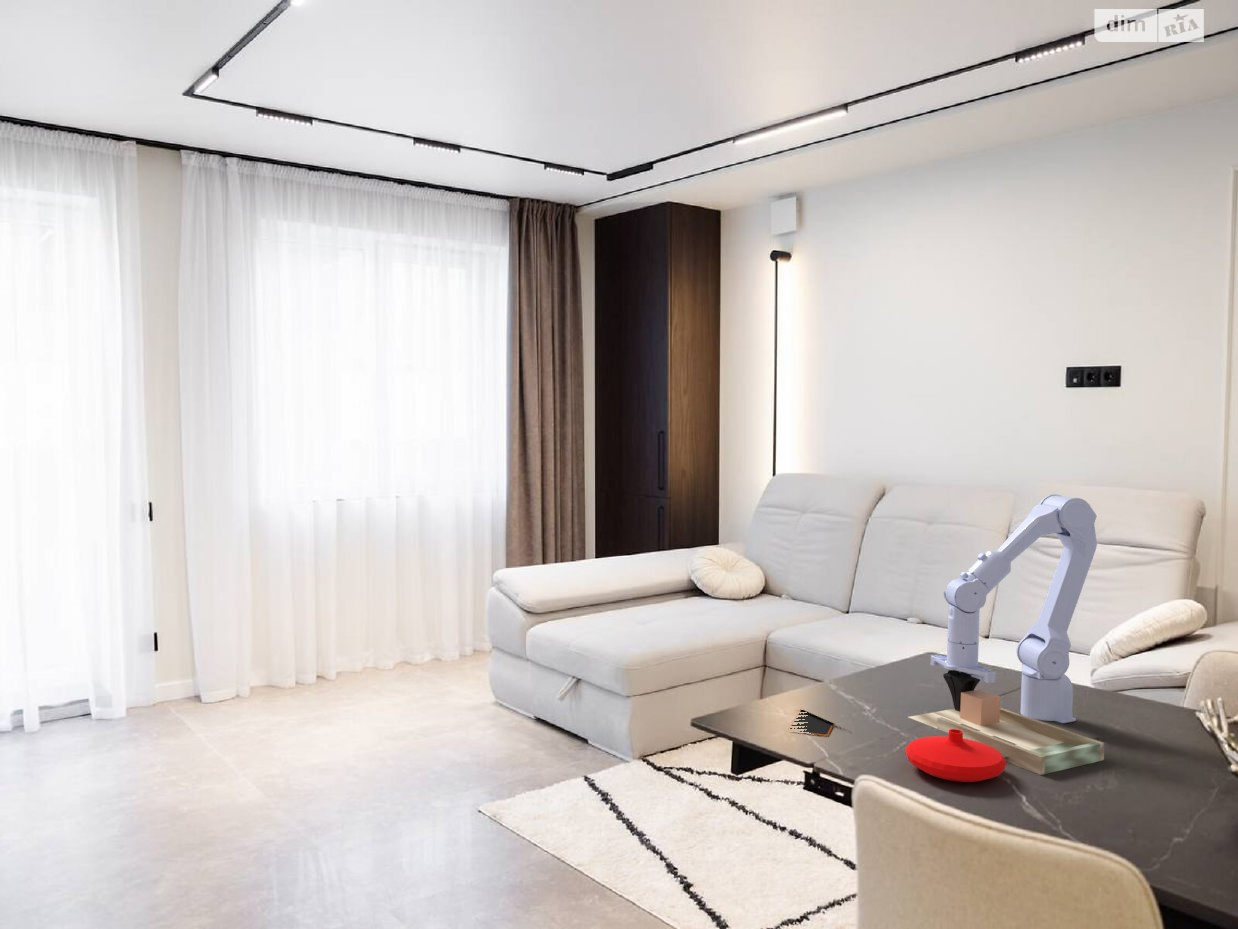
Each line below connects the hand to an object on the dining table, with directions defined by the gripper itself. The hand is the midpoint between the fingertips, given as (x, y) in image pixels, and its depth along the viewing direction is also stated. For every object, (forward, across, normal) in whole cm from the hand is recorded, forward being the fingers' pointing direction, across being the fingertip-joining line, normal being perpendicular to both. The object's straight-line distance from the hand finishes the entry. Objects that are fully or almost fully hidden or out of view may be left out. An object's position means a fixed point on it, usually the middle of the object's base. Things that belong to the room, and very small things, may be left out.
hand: (960, 710), depth 183 cm
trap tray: (+2, +12, -3) cm, 12 cm away
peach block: (+1, +4, 0) cm, 4 cm away
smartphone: (+2, -11, -27) cm, 29 cm away
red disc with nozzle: (+2, +20, -23) cm, 30 cm away
